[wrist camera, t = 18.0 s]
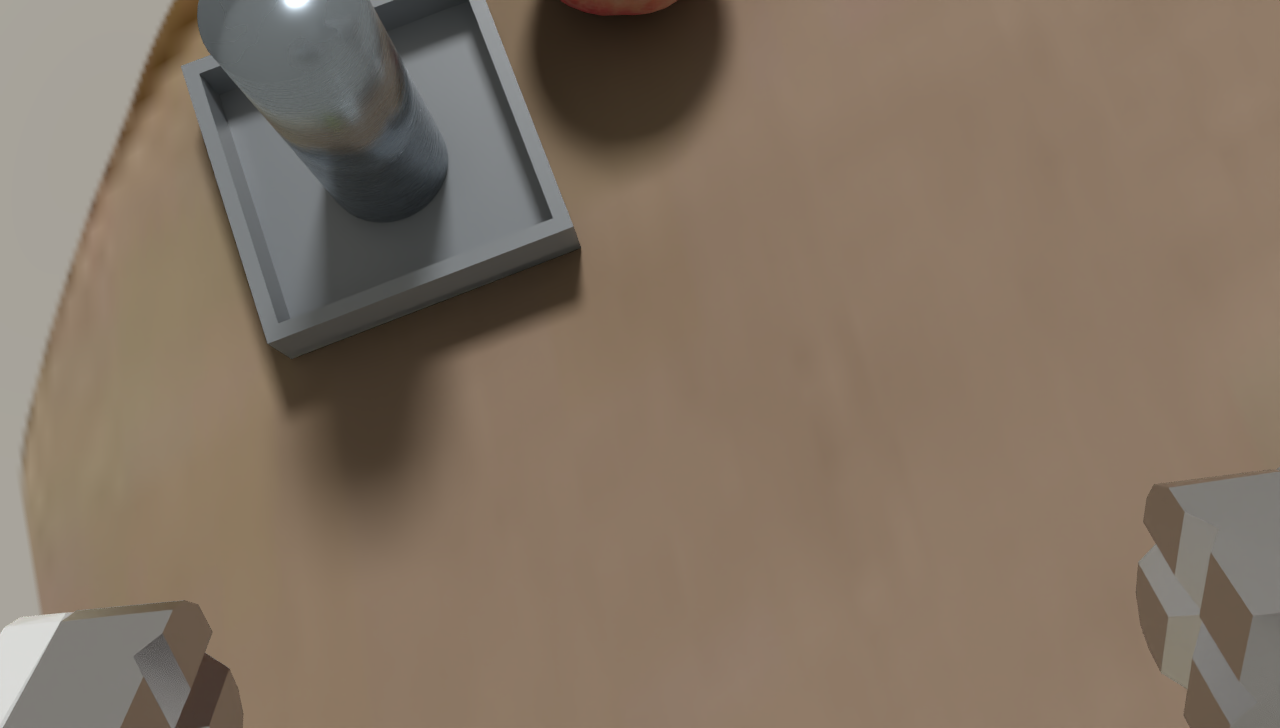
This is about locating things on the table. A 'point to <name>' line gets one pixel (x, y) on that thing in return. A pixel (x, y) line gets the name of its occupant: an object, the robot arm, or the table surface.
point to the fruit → (618, 6)
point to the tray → (401, 250)
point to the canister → (333, 98)
